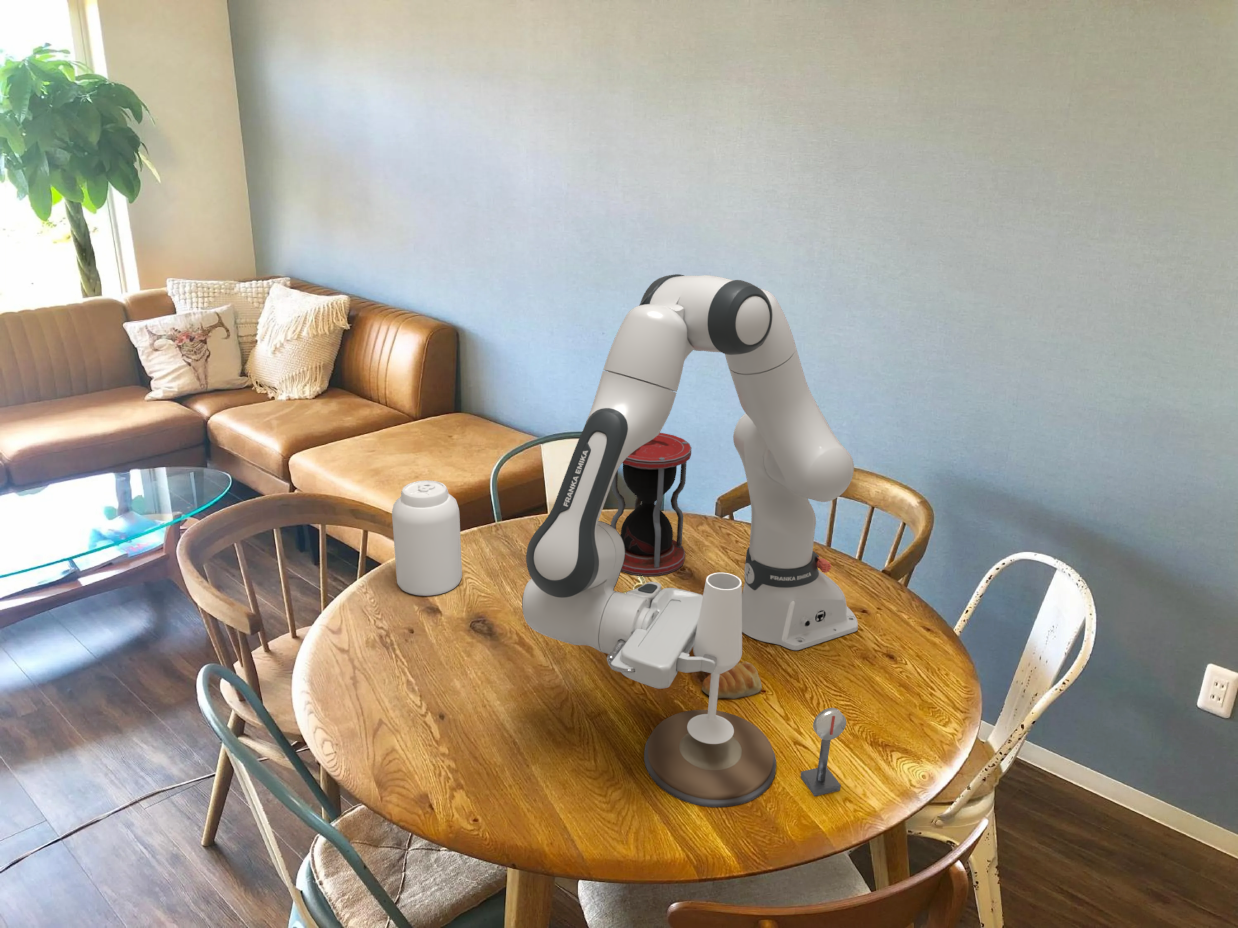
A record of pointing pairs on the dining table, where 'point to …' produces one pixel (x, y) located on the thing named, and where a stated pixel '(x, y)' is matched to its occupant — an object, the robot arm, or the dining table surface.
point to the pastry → (736, 682)
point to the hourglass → (652, 506)
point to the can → (427, 539)
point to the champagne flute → (718, 648)
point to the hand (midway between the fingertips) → (723, 649)
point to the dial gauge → (824, 752)
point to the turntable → (710, 762)
